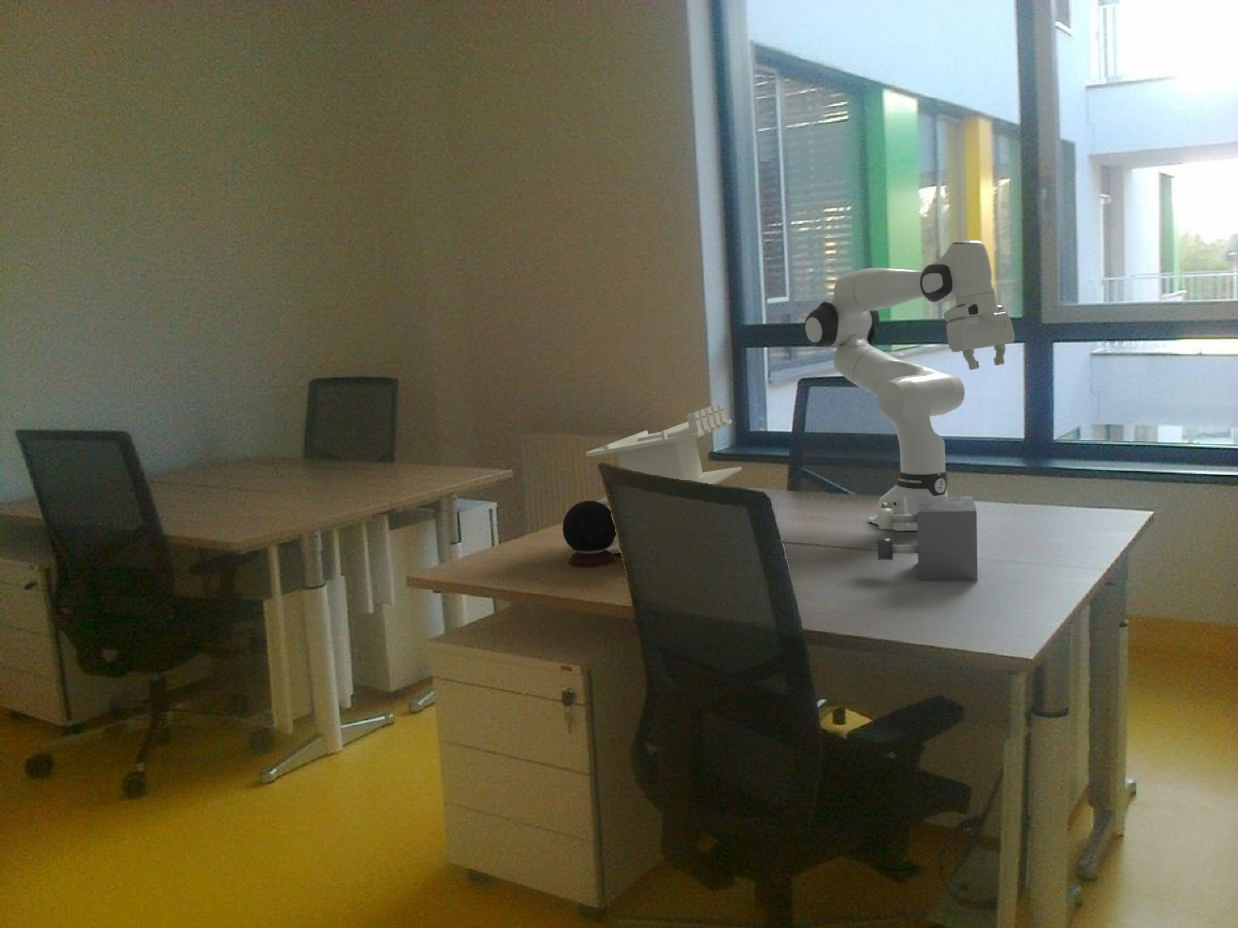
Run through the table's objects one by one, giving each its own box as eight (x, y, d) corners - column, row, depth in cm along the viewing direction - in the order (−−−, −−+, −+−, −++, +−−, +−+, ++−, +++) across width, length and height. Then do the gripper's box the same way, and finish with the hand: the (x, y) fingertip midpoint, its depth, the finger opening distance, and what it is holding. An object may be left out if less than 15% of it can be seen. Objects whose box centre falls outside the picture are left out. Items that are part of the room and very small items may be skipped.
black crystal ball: (568, 570, 274) (563, 508, 272) (562, 558, 287) (557, 498, 285) (623, 565, 276) (619, 503, 274) (614, 553, 289) (610, 494, 287)
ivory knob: (878, 531, 256) (878, 510, 256) (879, 526, 261) (878, 506, 260) (925, 530, 254) (924, 510, 253) (925, 526, 258) (924, 506, 257)
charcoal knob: (878, 561, 249) (877, 541, 249) (878, 556, 254) (878, 536, 253) (926, 561, 247) (925, 540, 246) (926, 556, 251) (925, 536, 251)
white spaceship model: (722, 558, 275) (692, 414, 272) (606, 573, 288) (576, 435, 285) (755, 533, 299) (728, 401, 296) (647, 548, 312) (620, 421, 309)
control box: (918, 580, 246) (916, 511, 244) (918, 562, 262) (916, 497, 259) (977, 581, 243) (976, 511, 241) (973, 562, 259) (972, 496, 256)
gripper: (993, 307, 279) (1003, 364, 279) (938, 314, 267) (948, 373, 268) (1016, 302, 274) (1025, 360, 274) (960, 309, 262) (970, 369, 262)
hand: (987, 367), depth 271 cm, fingers open, 8 cm apart
